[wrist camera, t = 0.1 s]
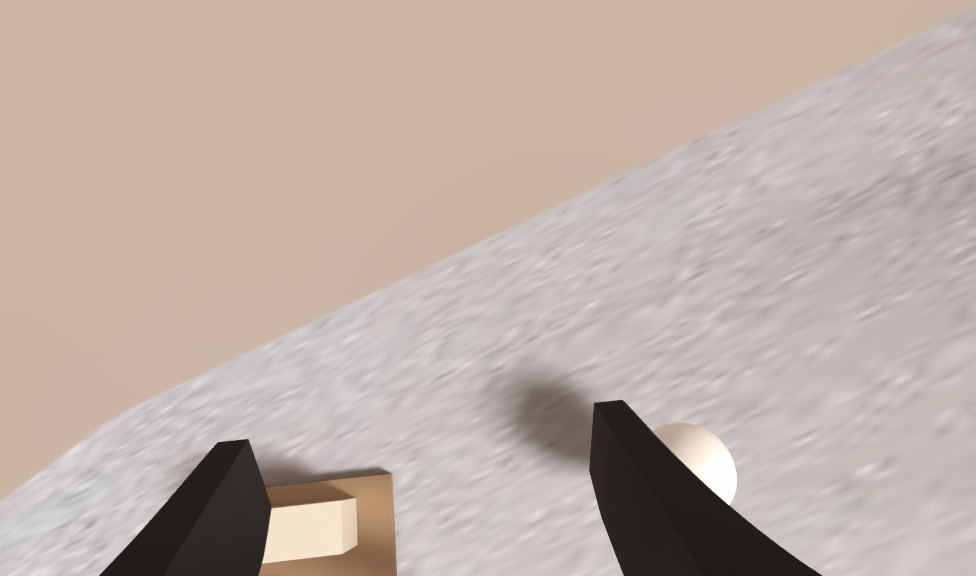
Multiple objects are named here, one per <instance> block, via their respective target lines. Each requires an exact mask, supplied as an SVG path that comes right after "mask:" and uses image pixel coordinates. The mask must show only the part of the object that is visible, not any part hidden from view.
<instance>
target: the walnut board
mask: <svg viewBox="0 0 976 576" xmlns="http://www.w3.org/2000/svg"><path fill="white" fill-rule="evenodd" d="M265 488H266V491H267V494H268V497H269V500H270V503H271V506H272V507H280V506H289V505H298V504H307V503H316V502H324V501H333V500H342V499H351V498H356V507H357V541H358V545H356V546H355V547H353V548H352V549H350V550H348V551H347V552H345V553H344V554H339V555H330V556H322V557H313V558H305V559H297V560H288V561H280V562H271V563H263V564H262V565H261V569H260V572H259V576H397V567H396V547H395V526H394V506H393V485H392V474H383V475H374V476H365V477H356V478H347V479H337V480H328V481H319V482H310V483H301V484H292V485H283V486H274V487H265Z"/></svg>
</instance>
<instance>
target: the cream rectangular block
mask: <svg viewBox="0 0 976 576" xmlns="http://www.w3.org/2000/svg"><path fill="white" fill-rule="evenodd" d="M356 545H358V541H357V507H356V498H351V499H342V500H333V501H324V502H316V503H307V504H298V505H289V506H280V507H272V509H271V516H270V522H269V529H268V536H267V541H266V547H265V553H264V558H263V561H262V564H263V563H271V562H280V561H288V560H297V559H305V558H313V557H322V556H330V555H339V554H344V553H345V552H347V551H348V550H350V549H352V548H353V547H355V546H356Z"/></svg>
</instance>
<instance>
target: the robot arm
mask: <svg viewBox="0 0 976 576" xmlns="http://www.w3.org/2000/svg"><path fill="white" fill-rule="evenodd" d="M589 471H590V475H591V479H592V483H593V487H594V491H595V495H596V499H597V502H598V506H599V510H600V514H601V517H602V520H603V522H604V525H605V528H606V530H607V533H608V536H609V538H610V541H611V544H612V546H613V549H614V551H615V554H616V557H617V559H618V562H619V564H620V567H621V570H622V572H623V575H624V576H822V575H820V574H819V573H817V572H816V571H814V570H813V569H811V568H810V567H808V566H807V565H805V564H804V563H802V562H801V561H800V560H798V559H797V558H795V557H794V556H793V555H791V554H790V553H789V552H787V551H786V550H784V549H783V548H782V547H780V546H779V545H778V544H776V543H775V542H774V541H772V540H771V539H770V538H769V537H767V536H766V535H765V534H763V533H762V532H761V531H760V530H758V529H757V528H756V527H754V526H753V525H752V524H751V523H750V522H748V521H747V520H746V519H745V518H743V517H742V516H741V515H740V514H739V513H738V512H736V511H735V510H734V509H733V508H732V507H731V506H729V505H728V504H727V503H726V502H725V501H724V500H723V499H721V498H720V497H719V496H718V495H717V494H716V493H715V492H713V491H712V490H711V489H710V488H709V487H708V486H707V485H706V484H705V483H704V482H703V481H702V480H700V479H699V478H698V477H697V476H696V475H695V474H694V473H693V472H692V471H691V470H690V469H689V468H688V467H687V466H686V465H685V464H684V463H683V462H682V461H681V460H680V459H679V458H678V457H677V456H676V455H675V454H674V453H673V452H672V451H671V450H670V449H669V448H668V447H667V446H666V445H665V444H664V443H663V442H662V441H661V440H660V439H659V438H658V437H657V436H656V435H655V434H654V433H653V432H652V431H651V430H650V428H649V427H648V426H647V425H646V424H645V423H644V422H643V421H642V420H641V419H640V418H639V417H638V415H637V414H636V413H635V412H634V411H633V410H632V409H631V408H630V407H629V406H628V405H627V404H626V403H625V402H624V401H623V400H617V401H607V402H598V403H594V414H593V428H592V442H591V455H590V469H589ZM271 509H272V506H271V503H270V500H269V497H268V494H267V491H266V488H265V485H264V483H263V480H262V477H261V474H260V471H259V468H258V465H257V462H256V460H255V457H254V454H253V451H252V448H251V445H250V442H249V439H244V440H235V441H225V442H218V443H217V444H216V445H215V446H214V447H213V448H212V449H211V451H210V452H209V453H208V454H207V455H206V456H205V457H204V459H203V460H202V461H201V462H200V463H199V464H198V466H197V467H196V468H195V469H194V470H193V472H192V473H191V474H190V475H189V476H188V477H187V479H186V480H185V481H184V482H183V483H182V485H181V486H180V487H179V488H178V489H177V490H176V492H175V493H174V494H173V495H172V496H171V497H170V499H169V500H168V501H167V502H166V503H165V504H164V506H163V507H162V508H161V509H160V510H159V511H158V512H157V513H156V515H155V516H154V517H153V518H152V519H151V520H150V521H149V523H148V524H147V525H146V526H145V527H144V528H143V529H142V530H141V532H140V533H139V534H138V535H137V536H136V537H135V538H134V539H133V540H132V542H131V543H130V544H129V545H128V546H127V547H126V548H125V549H124V550H123V551H122V552H121V553H120V554H119V555H118V556H117V557H116V559H115V560H114V561H113V562H112V563H111V564H110V565H109V566H108V567H107V568H106V569H105V570H104V571H103V572H102V573H101V574H100V575H99V576H259V572H260V569H261V565H262V561H263V558H264V553H265V547H266V541H267V536H268V529H269V522H270V516H271Z"/></svg>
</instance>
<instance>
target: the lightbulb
mask: <svg viewBox="0 0 976 576" xmlns="http://www.w3.org/2000/svg"><path fill="white" fill-rule="evenodd" d="M652 432H653V433H654V434H655V435H656V436H657V437H658V438H659V439H660V440H661V441H662V442H663V443H664V444H665V445H666V446H667V447H668V448H669V449H670V450H671V451H672V452H673V453H674V454H675V455H676V456H677V457H678V458H679V459H680V460H681V461H682V462H683V463H684V464H685V465H686V466H687V467H688V468H689V469H690V470H691V471H692V472H693V473H694V474H695V475H696V476H697V477H698V478H699V479H700V480H702V481H703V482H704V483H705V484H706V485H707V486H708V487H709V488H710V489H711V490H712V491H713V492H715V493H716V494H717V495H718V496H719V497H720V498H721V499H723V500H724V501H725V502H726V503H727V504H728V505H730V503H731V501H732V499H733V497H734V494H735V491H736V483H737V476H736V469H735V465H734V461H733V459H732V457H731V455H730V453H729V451H728V450H727V448H726V447H725V445H724V444H723V443H722V442H721V441H720V440H719V439H718V438H717V437H716V436H714V435H713V434H712V433H710V432H709V431H707V430H705V429H703V428H701V427H699V426H696V425H692V424H688V423H671V424H666V425H663V426H660V427H658V428H656V429H654V430H653V431H652Z"/></svg>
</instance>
